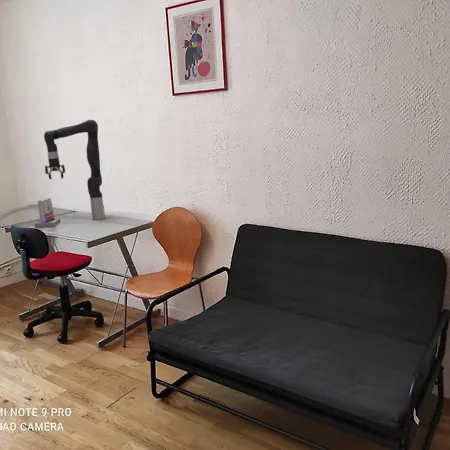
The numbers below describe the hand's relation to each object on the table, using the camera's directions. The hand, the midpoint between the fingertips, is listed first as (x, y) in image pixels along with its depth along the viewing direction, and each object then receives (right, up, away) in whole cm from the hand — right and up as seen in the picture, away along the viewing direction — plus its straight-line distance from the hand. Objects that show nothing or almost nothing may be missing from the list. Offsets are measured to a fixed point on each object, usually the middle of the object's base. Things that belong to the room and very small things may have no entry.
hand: (56, 178), depth 355 cm
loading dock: (-4, -35, -7) cm, 36 cm away
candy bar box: (-4, -33, -8) cm, 34 cm away
